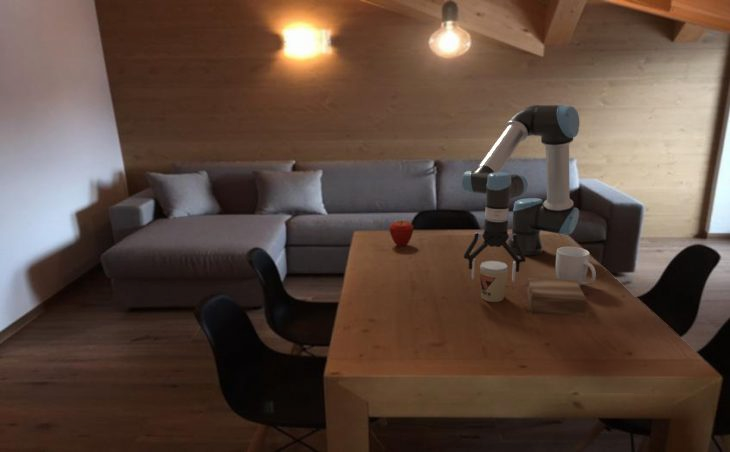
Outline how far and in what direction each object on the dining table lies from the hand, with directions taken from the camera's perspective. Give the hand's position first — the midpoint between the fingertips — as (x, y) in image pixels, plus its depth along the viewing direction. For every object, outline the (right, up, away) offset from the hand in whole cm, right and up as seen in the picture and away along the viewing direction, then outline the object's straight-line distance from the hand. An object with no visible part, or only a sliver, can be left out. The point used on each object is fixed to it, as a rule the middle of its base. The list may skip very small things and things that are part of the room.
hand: (492, 279), depth 172 cm
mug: (+32, -4, +11) cm, 34 cm away
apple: (-27, +9, +60) cm, 66 cm away
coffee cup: (0, -7, +2) cm, 7 cm away
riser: (+19, -8, -5) cm, 21 cm away
